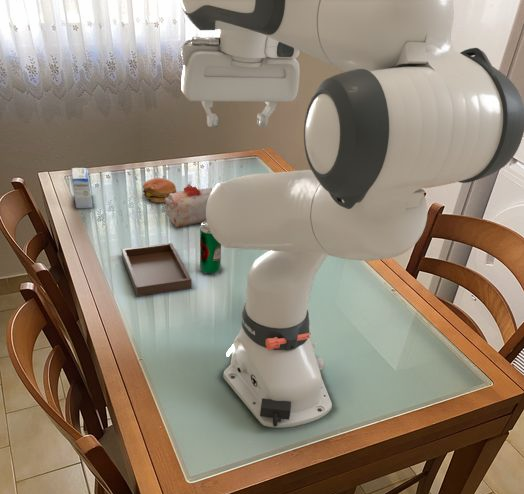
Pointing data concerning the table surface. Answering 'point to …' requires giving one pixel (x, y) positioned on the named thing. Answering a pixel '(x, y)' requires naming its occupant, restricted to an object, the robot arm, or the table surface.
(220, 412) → the table surface
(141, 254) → the tray
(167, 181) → the burger
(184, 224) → the food item
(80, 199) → the medicine box
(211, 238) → the soda can
